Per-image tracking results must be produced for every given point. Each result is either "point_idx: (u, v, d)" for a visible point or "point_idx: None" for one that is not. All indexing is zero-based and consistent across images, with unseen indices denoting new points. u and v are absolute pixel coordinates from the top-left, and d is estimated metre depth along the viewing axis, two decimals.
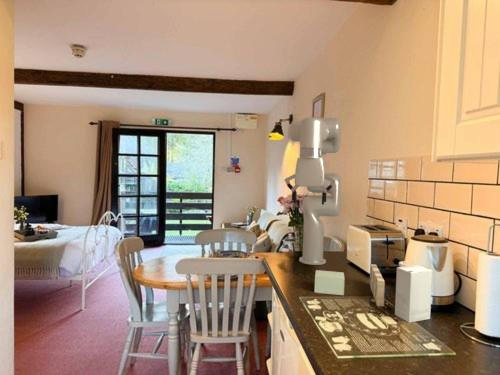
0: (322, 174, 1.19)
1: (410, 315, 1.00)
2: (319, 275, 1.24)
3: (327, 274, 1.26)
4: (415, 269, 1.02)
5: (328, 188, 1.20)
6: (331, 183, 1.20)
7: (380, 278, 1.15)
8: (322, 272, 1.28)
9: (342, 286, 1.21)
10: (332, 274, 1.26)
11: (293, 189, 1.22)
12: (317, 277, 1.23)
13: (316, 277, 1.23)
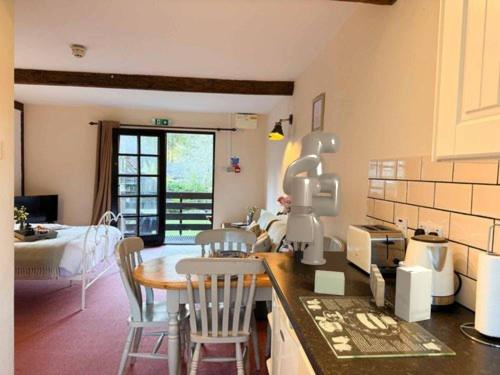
0: (312, 231, 1.25)
1: (410, 315, 1.00)
2: (319, 276, 1.24)
3: (327, 274, 1.26)
4: (415, 269, 1.02)
5: (305, 246, 1.27)
6: (310, 244, 1.26)
7: (380, 278, 1.15)
8: (322, 272, 1.28)
9: (342, 286, 1.21)
10: (332, 274, 1.26)
11: (296, 248, 1.27)
12: (317, 277, 1.23)
13: (316, 277, 1.23)
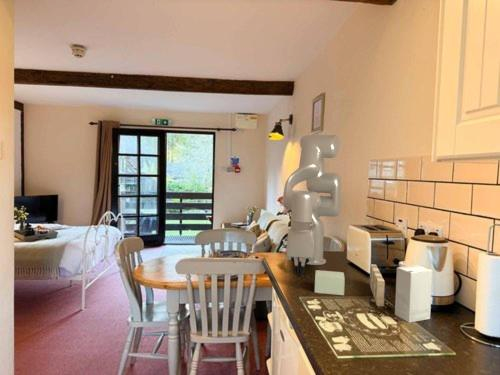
0: (312, 247, 1.25)
1: (410, 315, 1.00)
2: (319, 276, 1.24)
3: (327, 274, 1.26)
4: (415, 269, 1.02)
5: (305, 262, 1.27)
6: (310, 259, 1.27)
7: (380, 278, 1.15)
8: (322, 272, 1.28)
9: (342, 286, 1.22)
10: (332, 274, 1.26)
11: (296, 263, 1.27)
12: (317, 277, 1.23)
13: (316, 277, 1.23)
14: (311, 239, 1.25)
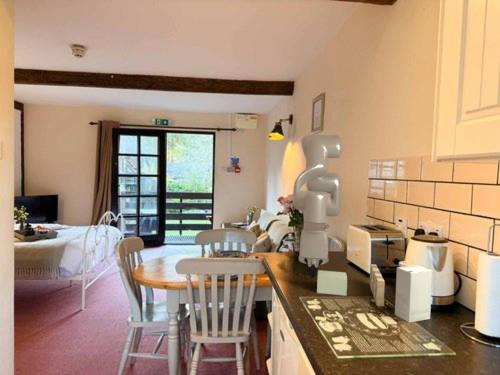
0: (326, 247, 1.24)
1: (410, 315, 1.00)
2: (321, 276, 1.23)
3: (330, 274, 1.25)
4: (415, 269, 1.02)
5: (319, 263, 1.26)
6: (324, 260, 1.26)
7: (380, 278, 1.15)
8: (324, 272, 1.28)
9: (345, 286, 1.21)
10: (335, 274, 1.26)
11: (310, 264, 1.26)
12: (319, 277, 1.23)
13: (319, 277, 1.23)
14: (325, 240, 1.24)
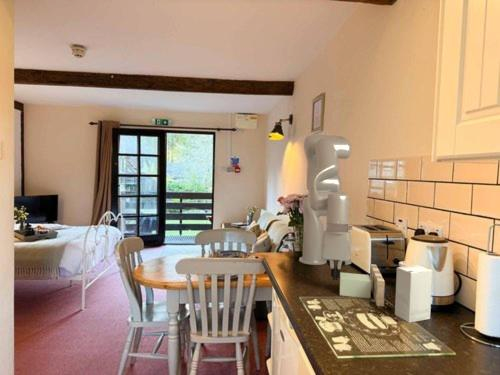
0: (349, 249, 1.22)
1: (410, 315, 1.00)
2: (344, 278, 1.21)
3: (353, 277, 1.23)
4: (415, 269, 1.02)
5: (341, 264, 1.24)
6: (346, 262, 1.24)
7: (380, 278, 1.15)
8: (347, 274, 1.26)
9: (368, 289, 1.19)
10: (358, 276, 1.24)
11: (332, 266, 1.24)
12: (342, 280, 1.21)
13: (341, 280, 1.21)
14: (348, 241, 1.22)
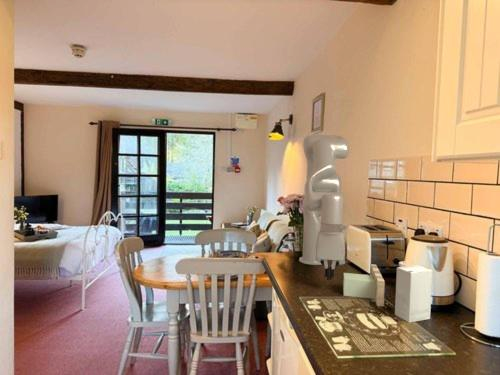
0: (343, 249, 1.23)
1: (410, 315, 1.00)
2: (348, 278, 1.21)
3: (356, 277, 1.23)
4: (415, 269, 1.02)
5: (335, 264, 1.25)
6: (340, 262, 1.25)
7: (380, 278, 1.15)
8: (350, 275, 1.26)
9: (372, 289, 1.19)
10: (361, 277, 1.24)
11: (326, 266, 1.25)
12: (346, 280, 1.21)
13: (345, 280, 1.21)
14: (342, 241, 1.23)
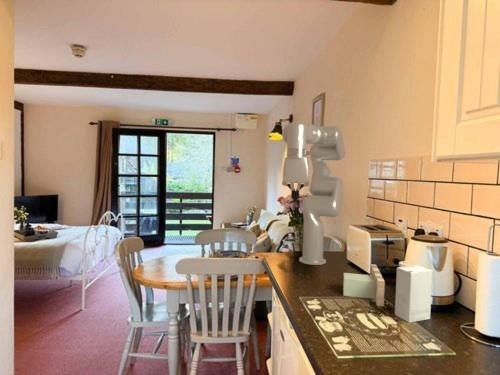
0: (306, 172, 1.36)
1: (410, 315, 1.00)
2: (348, 278, 1.21)
3: (356, 277, 1.23)
4: (415, 269, 1.02)
5: (300, 186, 1.38)
6: (305, 184, 1.38)
7: (380, 278, 1.15)
8: (350, 275, 1.26)
9: (372, 289, 1.19)
10: (361, 277, 1.24)
11: (292, 188, 1.38)
12: (346, 280, 1.21)
13: (345, 280, 1.21)
14: (306, 165, 1.36)
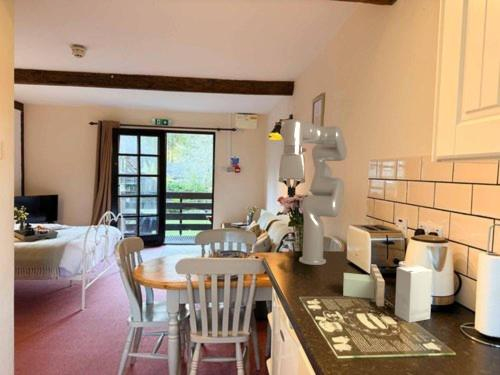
0: (302, 168, 1.37)
1: (410, 315, 1.00)
2: (348, 278, 1.21)
3: (356, 277, 1.23)
4: (415, 269, 1.02)
5: (296, 183, 1.39)
6: (301, 181, 1.39)
7: (380, 278, 1.15)
8: (350, 275, 1.26)
9: (372, 289, 1.19)
10: (361, 277, 1.24)
11: (288, 185, 1.39)
12: (346, 280, 1.21)
13: (345, 280, 1.21)
14: (302, 161, 1.37)
